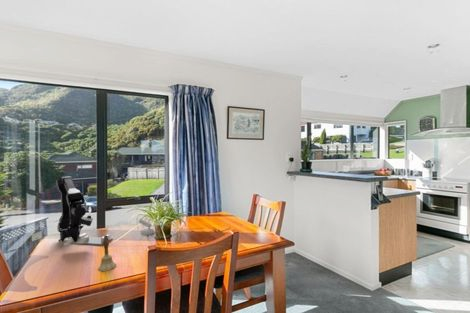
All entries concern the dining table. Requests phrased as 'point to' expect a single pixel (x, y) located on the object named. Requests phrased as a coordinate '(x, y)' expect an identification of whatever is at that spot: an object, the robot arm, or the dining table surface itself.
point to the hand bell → (106, 257)
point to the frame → (80, 240)
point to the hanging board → (95, 240)
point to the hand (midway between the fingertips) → (76, 240)
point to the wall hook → (148, 228)
